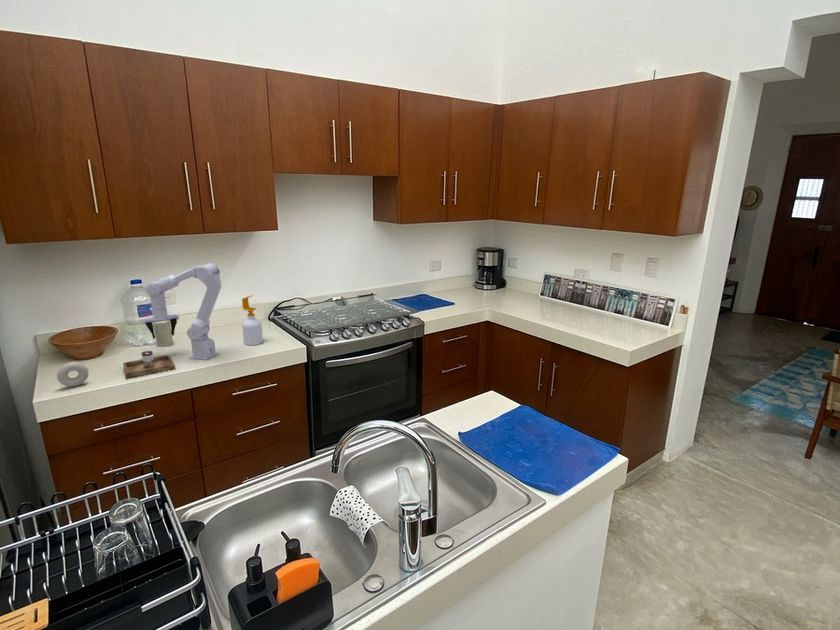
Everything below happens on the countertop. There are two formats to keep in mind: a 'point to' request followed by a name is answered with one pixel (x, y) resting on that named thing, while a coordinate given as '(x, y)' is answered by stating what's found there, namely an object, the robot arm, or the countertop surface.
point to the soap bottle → (251, 326)
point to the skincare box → (163, 333)
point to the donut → (72, 366)
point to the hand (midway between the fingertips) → (163, 336)
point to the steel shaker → (148, 359)
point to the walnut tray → (137, 368)
